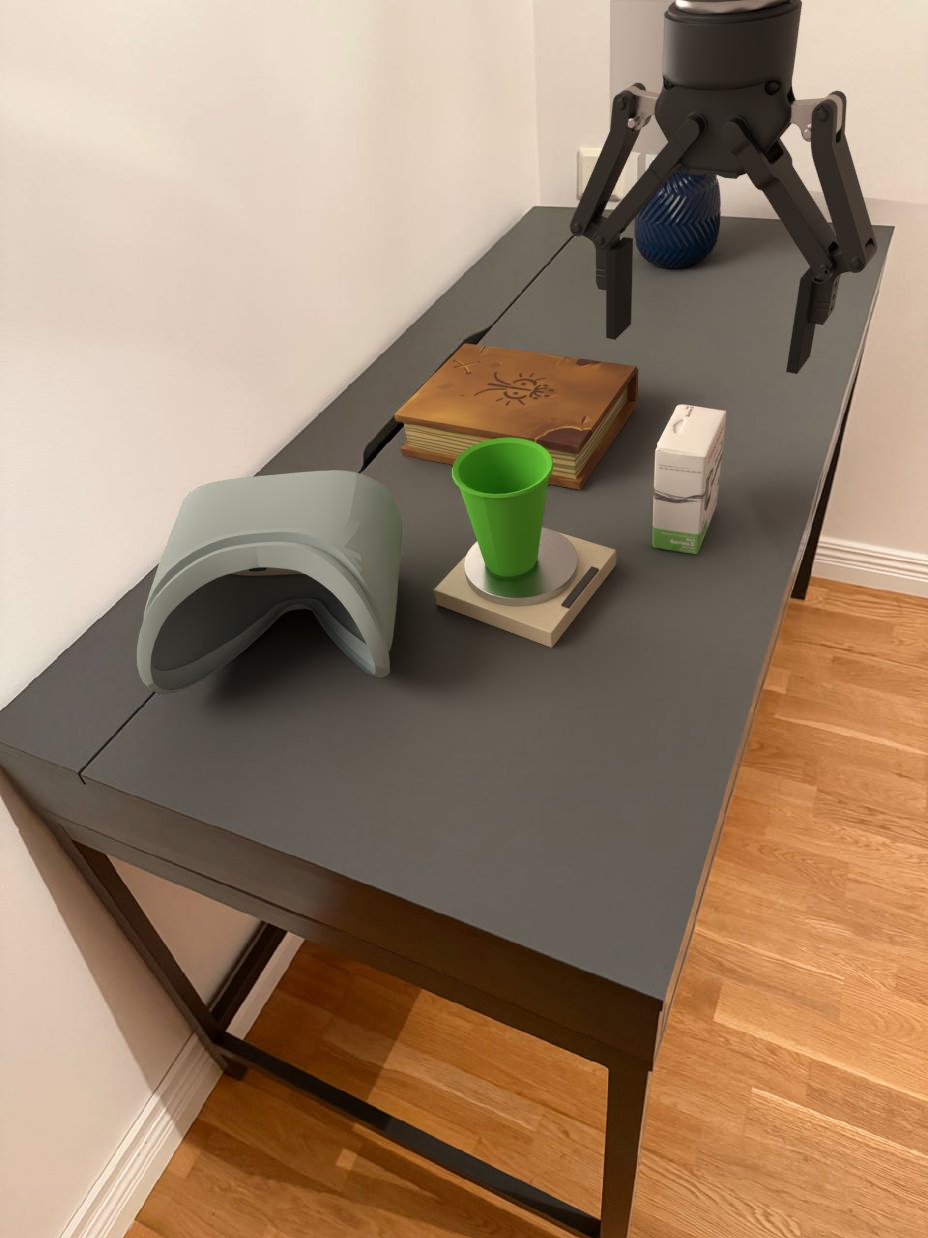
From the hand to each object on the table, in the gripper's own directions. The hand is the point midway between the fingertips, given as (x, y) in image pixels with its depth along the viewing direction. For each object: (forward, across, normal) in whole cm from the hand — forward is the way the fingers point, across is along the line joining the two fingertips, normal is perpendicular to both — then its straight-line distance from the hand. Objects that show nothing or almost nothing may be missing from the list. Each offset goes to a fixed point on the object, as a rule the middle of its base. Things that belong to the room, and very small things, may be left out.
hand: (704, 347), depth 65 cm
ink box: (+27, +5, -12) cm, 30 cm away
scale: (+27, +15, +3) cm, 31 cm away
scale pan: (+25, +15, +3) cm, 29 cm away
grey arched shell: (+27, +31, +20) cm, 46 cm away
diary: (+27, +30, -21) cm, 45 cm away
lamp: (+27, +33, -73) cm, 85 cm away
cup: (+24, +16, +3) cm, 29 cm away
